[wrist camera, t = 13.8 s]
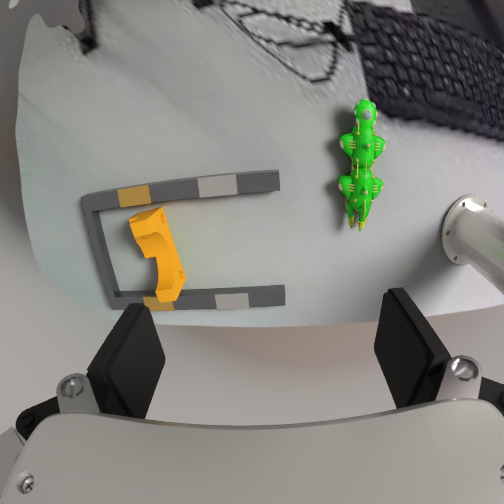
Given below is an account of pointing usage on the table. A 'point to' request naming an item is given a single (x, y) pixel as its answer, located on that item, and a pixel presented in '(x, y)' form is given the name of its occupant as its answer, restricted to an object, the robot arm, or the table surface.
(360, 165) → the crocodile figurine
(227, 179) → the rail frame
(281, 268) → the table surface
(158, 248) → the pipe clamp
